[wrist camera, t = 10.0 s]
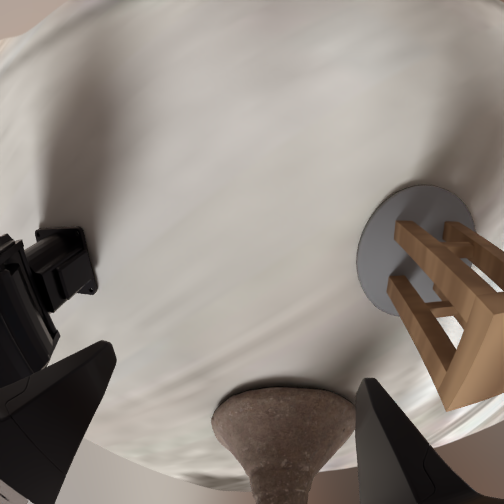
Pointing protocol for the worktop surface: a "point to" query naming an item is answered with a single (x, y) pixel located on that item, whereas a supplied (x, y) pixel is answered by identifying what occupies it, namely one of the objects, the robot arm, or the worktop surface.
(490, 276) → the stool
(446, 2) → the worktop surface
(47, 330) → the robot arm
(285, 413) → the sculpture
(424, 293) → the mat
